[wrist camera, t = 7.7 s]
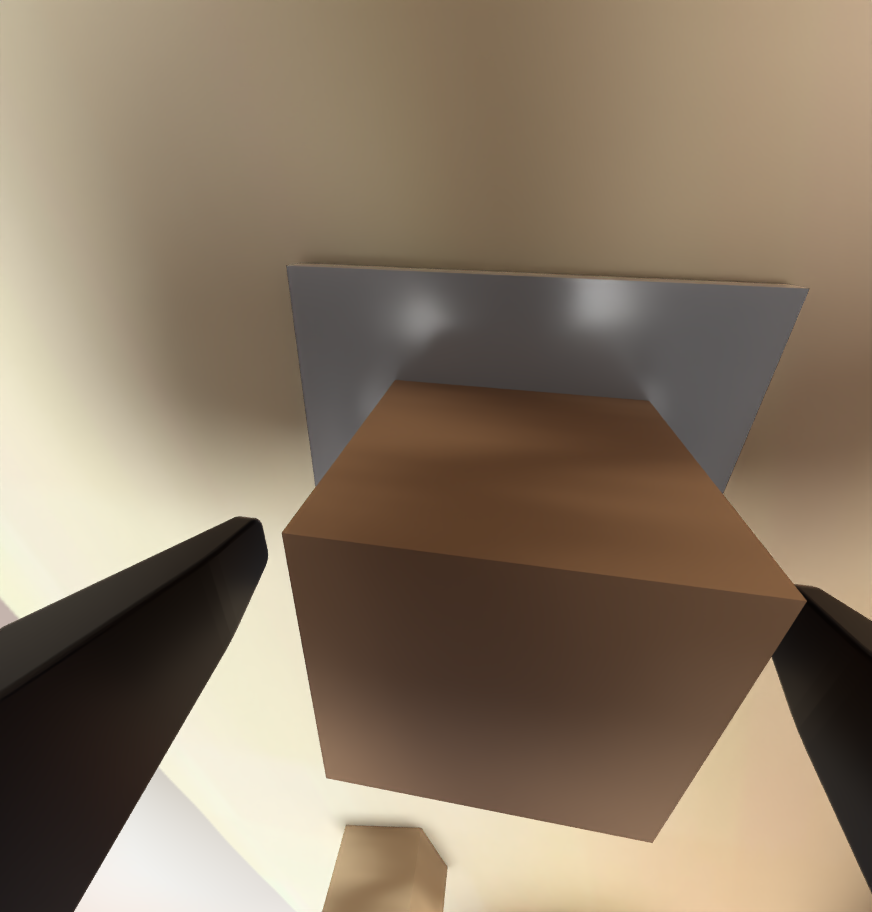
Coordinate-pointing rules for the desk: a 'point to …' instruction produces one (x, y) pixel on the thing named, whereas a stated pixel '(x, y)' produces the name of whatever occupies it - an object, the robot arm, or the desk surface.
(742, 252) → the desk surface
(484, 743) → the walnut cube
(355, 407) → the slate coaster
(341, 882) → the oak block
